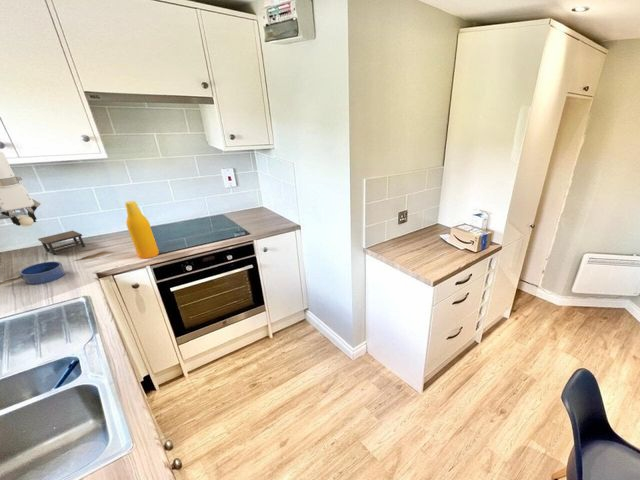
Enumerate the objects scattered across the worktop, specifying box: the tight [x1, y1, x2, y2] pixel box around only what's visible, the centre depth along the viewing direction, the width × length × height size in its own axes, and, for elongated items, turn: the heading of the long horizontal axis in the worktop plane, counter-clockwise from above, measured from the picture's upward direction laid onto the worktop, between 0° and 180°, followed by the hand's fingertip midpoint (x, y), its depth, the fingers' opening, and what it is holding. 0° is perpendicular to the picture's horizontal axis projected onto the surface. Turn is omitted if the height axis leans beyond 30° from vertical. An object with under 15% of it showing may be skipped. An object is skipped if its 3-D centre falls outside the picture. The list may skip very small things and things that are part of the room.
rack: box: [37, 230, 86, 256], centre depth 169 cm, size 14×10×9 cm
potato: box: [16, 214, 35, 228], centre depth 141 cm, size 4×7×4 cm, turn 63°
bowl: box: [19, 261, 66, 285], centre depth 147 cm, size 13×13×5 cm
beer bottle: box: [124, 200, 160, 259], centre depth 165 cm, size 9×9×29 cm
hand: (26, 222), depth 142 cm, fingers closed on potato, 4 cm apart
